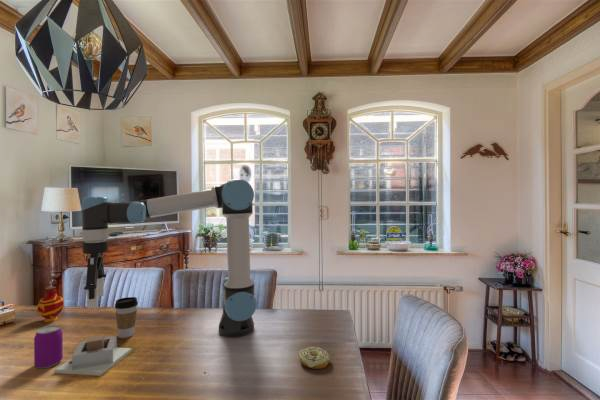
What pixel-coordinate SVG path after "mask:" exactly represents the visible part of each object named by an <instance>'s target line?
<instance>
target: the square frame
mask: <svg viewBox="0 0 600 400" xmlns="http://www.w3.org/2000/svg"><path fill="white" fill-rule="evenodd" d="M87 340H88V339H85V340H80V341H79V342H78V344H77V346H76V348H75V350H74V352H73V354H72V357H71V359H72V370H75V369H80V368H86V367H91V366H97V365H102V364H107V363H113V360H114V357H115V353H116V349H117V347H118V335H113V336H104V348H103V349H97V350H91V351H87Z"/></svg>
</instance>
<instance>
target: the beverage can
mask: <svg viewBox="0 0 600 400" xmlns="http://www.w3.org/2000/svg"><path fill="white" fill-rule="evenodd" d="M63 334H64V333H63V331H62V328H61V327H60V325H56V324H55V325H47V326H44V327H41V328H38V330H37V331H36V333H35V335H34V338H33V341H34V343H33V350H34V353H33V354H34V355H33V356H34V359H33V361H34V367H35V368H38V369H47V368H52V367H54V366H56V365H58V364H59V363H60V362H61V361H62V360H63V359H64V358H63V356H64V353H63V352H64V351H63V350H64V349H63V346H64V345H63V340H64V339H63Z"/></svg>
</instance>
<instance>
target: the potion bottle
mask: <svg viewBox="0 0 600 400" xmlns="http://www.w3.org/2000/svg"><path fill="white" fill-rule="evenodd" d="M56 288H57V286H55V285H54V286H48V287H45V291H44V293H45V294H46V296H45V297H42V298H41V299H40V300H39V301H38V304H37V305H36V307H37V308H36V309H37V315H38V316H41V317H42V318H44V321H43V322H44V323H50V322H55V321H57V320H58V317H57V316H58V315H59V314H60V313H61V312H62V311H63V308H64V307H65V300H64V298H63V297H62V296H61V295H58V294H56V292H57V289H56Z"/></svg>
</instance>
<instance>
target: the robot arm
mask: <svg viewBox="0 0 600 400" xmlns="http://www.w3.org/2000/svg"><path fill="white" fill-rule="evenodd" d="M254 197H255V191H254V189H253V187H252V185H251V184H250V183H249V182H248V181H247V180H245V179H242V178H233V179H230V180H228V181H227V182H225V183H221V184H218V185H213V186H212V187H211V188H209V189H203V190H196V191H190V192H186V193H178V194H173V195H167V196H161V197H156V198H155V197H153V198H149V199H141V200H135V201H128V202H127V201H123V202H121V201H120V202H112V201H111V202H109V199H108V197H106V196H86V197H83V198H82V202H81V203H82V205H81V224H82V231H81V232H80V235H81V236H82V241H83V242H82V243H81V244H82V253H83V254H85V255H89V258H87V260H86V261H87V269H86V279H85V281H86V282H85V286H84V287H83V290H84V291H85V290H86V296H87V297H86V299H87V300H86V303H87V304H86V305H87V307H86V309H87V310H90V309H98V298H99V297H104V296H105V292H104V291H105V290H104V289H105V288H104V287H105V282H104V280H105V279H104V278H107V274H106V273H105V266H104V265H105V264H104V256H103V255H104V253H106V252H108V251H109V241H108V240H109V225H112V224H141V223H145V221H146V219H152V218H158V217H163V216H169V215H175V214H181V213H186V212H192V211H197V210H204V209H207V208H208V209H209V208H215V209H221V210H222V211H221V212H222V213H221V214H222V215H223V216H224V218H226V246H227V247H226V252H227V253H226V254H227V257H226V258H227V276H226V277H224V278H223V280H222V284H221V285H222V313H221V314H222V315H221V318H220V319H219V324H218V333H219V335H221V336H224V337H228V338H238V337H244V336H247V335H249V334H251V333H252V332H254V329H255V322H254V319H253V315H254V314H255V312H256V310H257V299H256V296H255V295H256V294H255V281H254V280H253V279H252V278H251V258H250V257H251V256H250V255H251V254H250V253H251V251H250V250H251V249H250V217H251V216H252V215H253V212H254V211H253V208H254V207H253V202H254Z"/></svg>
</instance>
